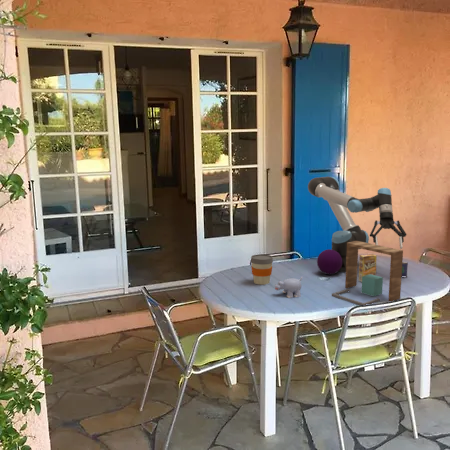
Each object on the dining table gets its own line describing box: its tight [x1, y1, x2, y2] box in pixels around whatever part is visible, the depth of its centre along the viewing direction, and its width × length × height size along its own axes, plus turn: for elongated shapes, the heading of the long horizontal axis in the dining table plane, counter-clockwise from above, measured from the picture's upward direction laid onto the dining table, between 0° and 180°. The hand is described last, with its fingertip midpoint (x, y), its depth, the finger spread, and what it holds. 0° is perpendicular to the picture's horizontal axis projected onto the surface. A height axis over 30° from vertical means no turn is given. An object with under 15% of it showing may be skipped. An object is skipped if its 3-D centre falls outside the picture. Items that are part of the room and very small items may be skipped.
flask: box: [402, 261, 409, 277], centre depth 289 cm, size 9×3×11 cm, turn 88°
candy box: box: [358, 253, 378, 283], centre depth 282 cm, size 9×4×15 cm, turn 107°
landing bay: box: [331, 288, 381, 306], centre depth 254 cm, size 20×13×1 cm, turn 37°
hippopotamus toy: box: [274, 276, 303, 299], centre depth 260 cm, size 11×15×10 cm
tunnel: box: [344, 241, 404, 302], centre depth 260 cm, size 29×8×26 cm, turn 37°
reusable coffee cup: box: [250, 253, 274, 286], centre depth 281 cm, size 12×13×15 cm
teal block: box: [361, 274, 384, 297], centre depth 261 cm, size 8×7×9 cm
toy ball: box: [316, 248, 342, 275], centre depth 296 cm, size 15×15×15 cm
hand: (389, 248), depth 280 cm, fingers open, 13 cm apart
